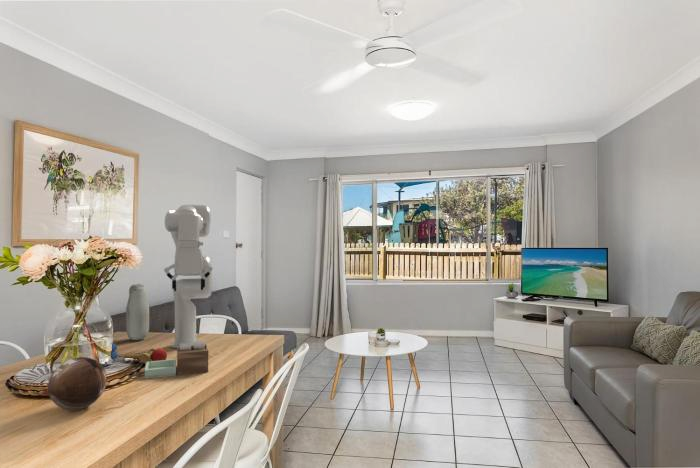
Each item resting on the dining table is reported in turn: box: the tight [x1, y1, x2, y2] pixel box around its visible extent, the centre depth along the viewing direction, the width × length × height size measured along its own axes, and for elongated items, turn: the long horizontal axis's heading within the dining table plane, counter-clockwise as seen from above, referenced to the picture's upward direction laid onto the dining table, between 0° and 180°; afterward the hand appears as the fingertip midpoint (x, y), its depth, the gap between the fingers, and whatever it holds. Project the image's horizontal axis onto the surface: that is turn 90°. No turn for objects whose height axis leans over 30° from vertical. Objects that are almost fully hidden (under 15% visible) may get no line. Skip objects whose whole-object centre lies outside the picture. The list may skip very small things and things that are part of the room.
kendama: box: [123, 347, 168, 366], centre depth 182 cm, size 8×6×18 cm
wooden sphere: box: [47, 356, 108, 411], centre depth 133 cm, size 15×15×15 cm
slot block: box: [176, 343, 209, 376], centre depth 173 cm, size 12×11×8 cm
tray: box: [144, 358, 177, 380], centre depth 168 cm, size 12×11×3 cm
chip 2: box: [193, 340, 206, 350], centre depth 174 cm, size 4×4×4 cm
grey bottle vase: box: [125, 283, 150, 341], centre depth 223 cm, size 10×10×28 cm
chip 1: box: [180, 342, 191, 351], centre depth 172 cm, size 4×4×4 cm
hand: (188, 290), depth 169 cm, fingers open, 9 cm apart
